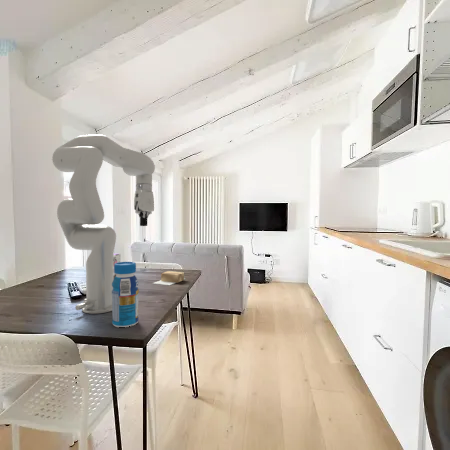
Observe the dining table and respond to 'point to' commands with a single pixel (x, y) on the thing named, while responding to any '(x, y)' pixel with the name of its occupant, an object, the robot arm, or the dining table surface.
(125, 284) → the beverage bottle
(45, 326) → the dining table surface
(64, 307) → the dining table surface
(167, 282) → the white rectangular board
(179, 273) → the oak slab
